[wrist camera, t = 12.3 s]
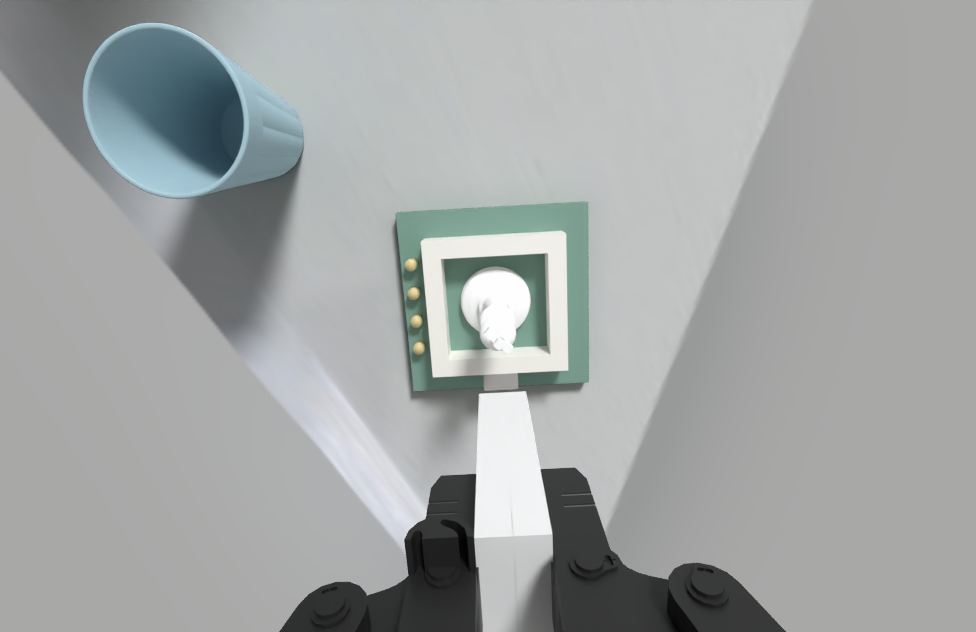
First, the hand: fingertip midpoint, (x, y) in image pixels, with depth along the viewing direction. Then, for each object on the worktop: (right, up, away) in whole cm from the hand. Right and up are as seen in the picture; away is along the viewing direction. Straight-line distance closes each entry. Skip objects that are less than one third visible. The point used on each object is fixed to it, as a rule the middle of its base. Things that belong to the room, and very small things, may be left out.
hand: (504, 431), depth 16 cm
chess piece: (0, +5, +19) cm, 20 cm away
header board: (0, +5, +20) cm, 21 cm away
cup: (-16, +16, +17) cm, 28 cm away
